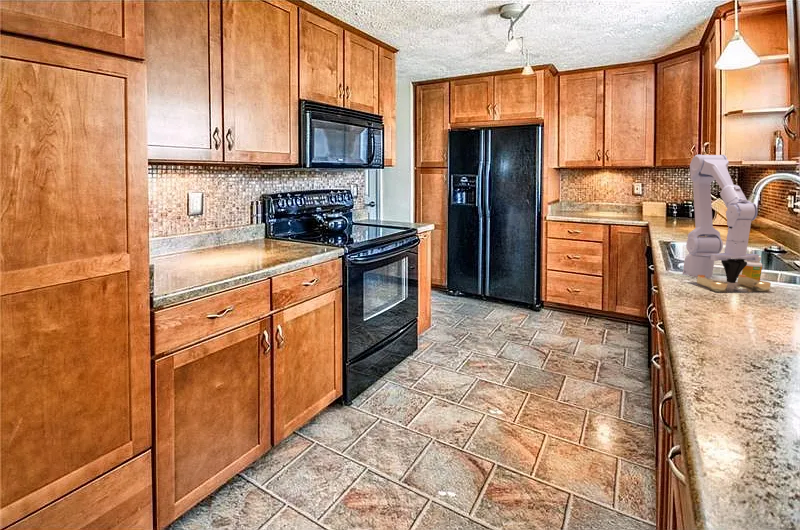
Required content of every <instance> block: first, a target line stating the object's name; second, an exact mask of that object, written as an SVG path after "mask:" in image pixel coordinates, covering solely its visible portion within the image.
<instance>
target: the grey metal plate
mask: <svg viewBox="0 0 800 530" xmlns="http://www.w3.org/2000/svg"><path fill="white" fill-rule="evenodd" d="M725 282H726V283H728V284H727V291H726V292H717V291H712V290H710V288H709V287H706V286H703V285H700V284H698V283H697V281H695V282H693V281H689V282H687V283H688V284H690V285H693V286H695V287H698V288H701V289H703V290H706V291H709V292H712V293H715V294H759V293H761V294H766V293H769V294H772V293H773V294H775V292H774V291H771V290H770V291H769V292H762V291H756V290H753V289H752V287H748V286H745V285H742V284H739V283H737V282H738V281H736V282H735V283H730V282H727V281H725Z"/></svg>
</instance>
